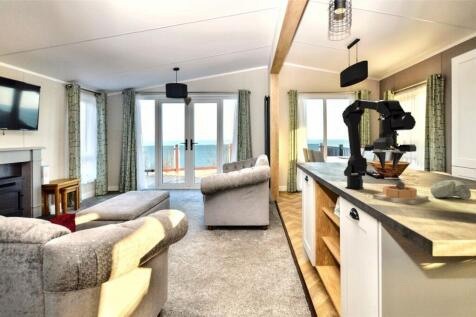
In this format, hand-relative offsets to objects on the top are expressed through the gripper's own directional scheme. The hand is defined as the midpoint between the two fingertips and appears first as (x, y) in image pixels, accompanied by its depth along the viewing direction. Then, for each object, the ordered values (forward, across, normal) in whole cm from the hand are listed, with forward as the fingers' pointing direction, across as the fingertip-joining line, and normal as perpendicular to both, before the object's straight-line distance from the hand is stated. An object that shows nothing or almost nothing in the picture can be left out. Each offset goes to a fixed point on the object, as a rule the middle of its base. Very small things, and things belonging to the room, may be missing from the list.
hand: (388, 168), depth 116 cm
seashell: (+12, +16, +16) cm, 26 cm away
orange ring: (+10, +5, 0) cm, 11 cm away
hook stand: (+12, +5, 0) cm, 13 cm away
